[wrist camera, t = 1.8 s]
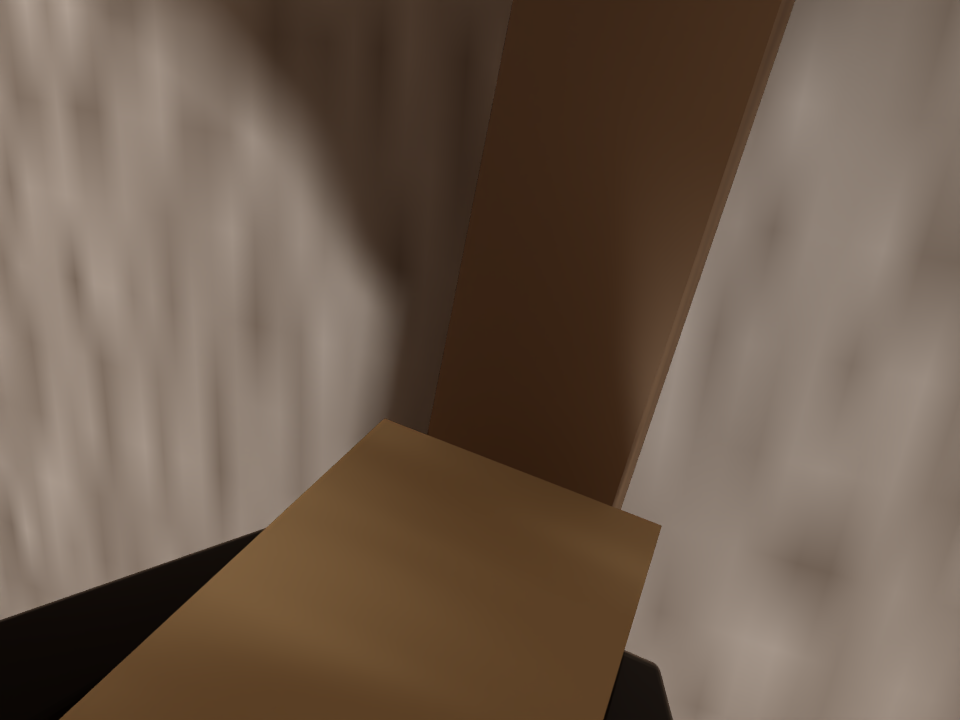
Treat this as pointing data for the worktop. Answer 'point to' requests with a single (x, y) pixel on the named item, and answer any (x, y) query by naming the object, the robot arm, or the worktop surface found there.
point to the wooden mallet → (501, 409)
